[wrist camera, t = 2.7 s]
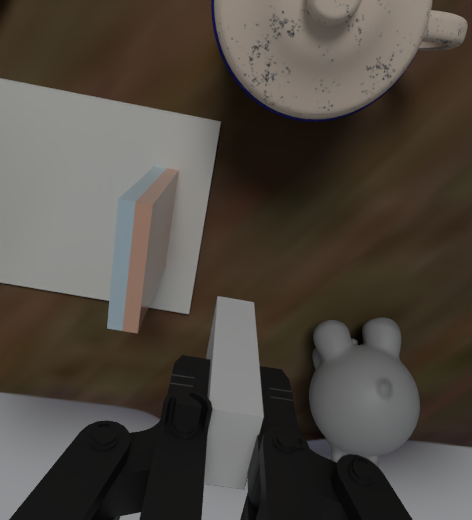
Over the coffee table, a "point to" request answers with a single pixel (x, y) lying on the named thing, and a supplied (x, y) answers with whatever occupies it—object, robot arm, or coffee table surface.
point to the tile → (140, 247)
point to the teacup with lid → (326, 50)
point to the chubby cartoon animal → (362, 389)
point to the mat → (94, 188)
